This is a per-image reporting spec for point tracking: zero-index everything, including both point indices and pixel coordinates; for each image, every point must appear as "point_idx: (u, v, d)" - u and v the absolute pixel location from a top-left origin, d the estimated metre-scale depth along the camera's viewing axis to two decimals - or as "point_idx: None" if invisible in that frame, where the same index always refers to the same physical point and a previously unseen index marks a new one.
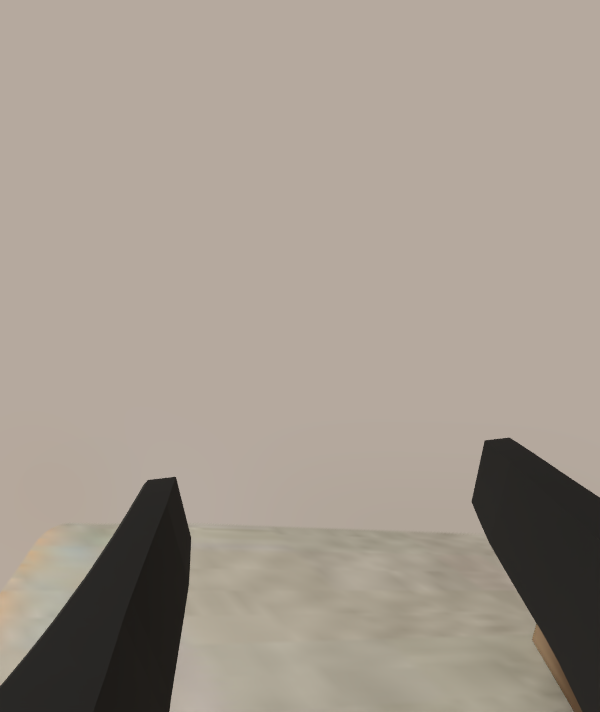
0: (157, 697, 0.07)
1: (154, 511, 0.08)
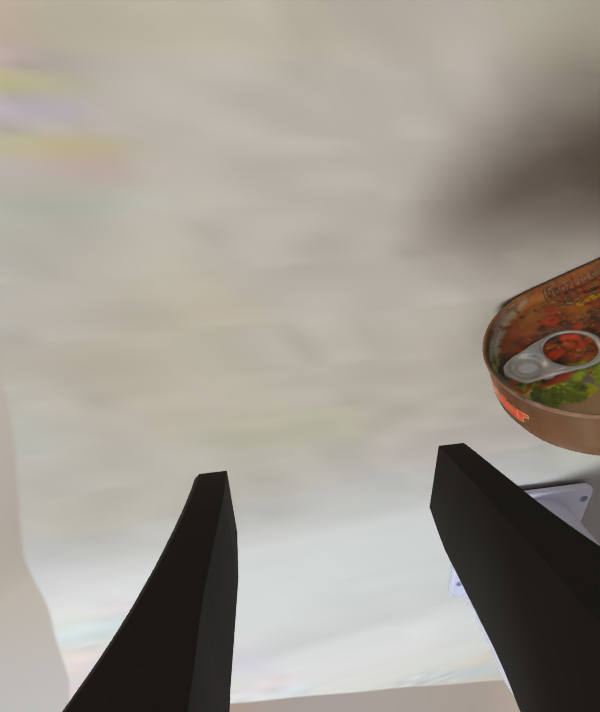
0: (222, 687, 0.08)
1: (212, 504, 0.08)
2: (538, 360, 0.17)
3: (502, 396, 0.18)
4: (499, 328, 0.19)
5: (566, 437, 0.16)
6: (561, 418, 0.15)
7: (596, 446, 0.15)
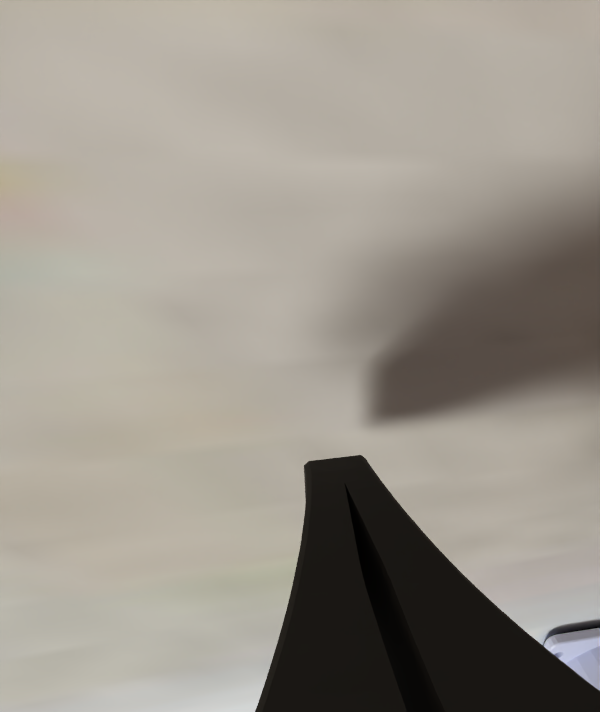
0: None
1: (335, 488, 0.09)
2: None
3: None
4: None
5: None
6: None
7: None
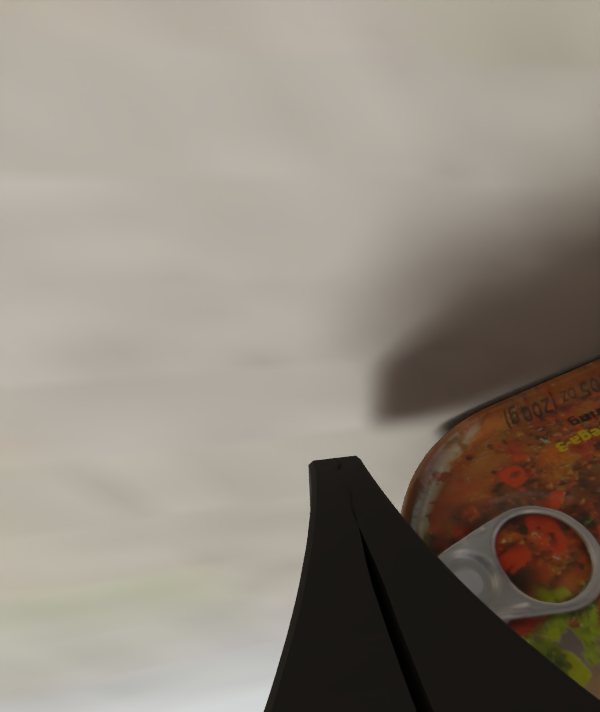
0: None
1: (340, 488, 0.09)
2: (485, 568, 0.10)
3: None
4: (432, 477, 0.12)
5: None
6: None
7: None
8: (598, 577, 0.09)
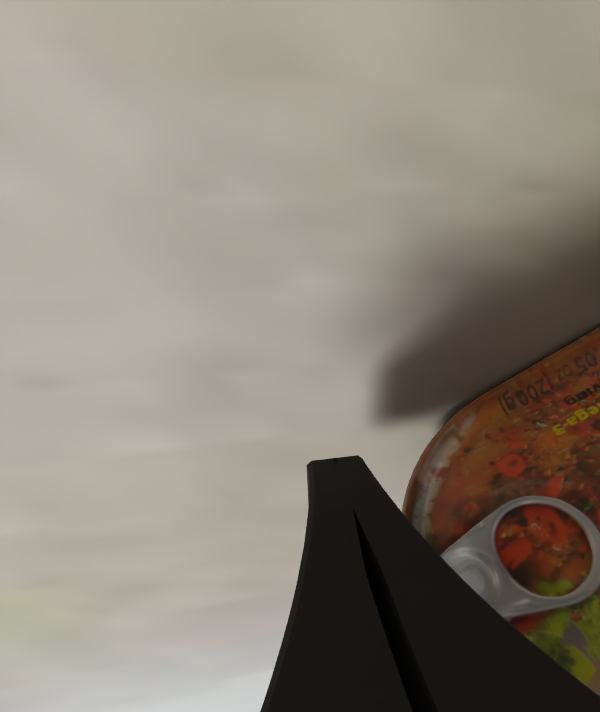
0: None
1: (337, 488, 0.09)
2: (486, 565, 0.10)
3: None
4: (431, 474, 0.12)
5: None
6: None
7: None
8: (598, 566, 0.08)
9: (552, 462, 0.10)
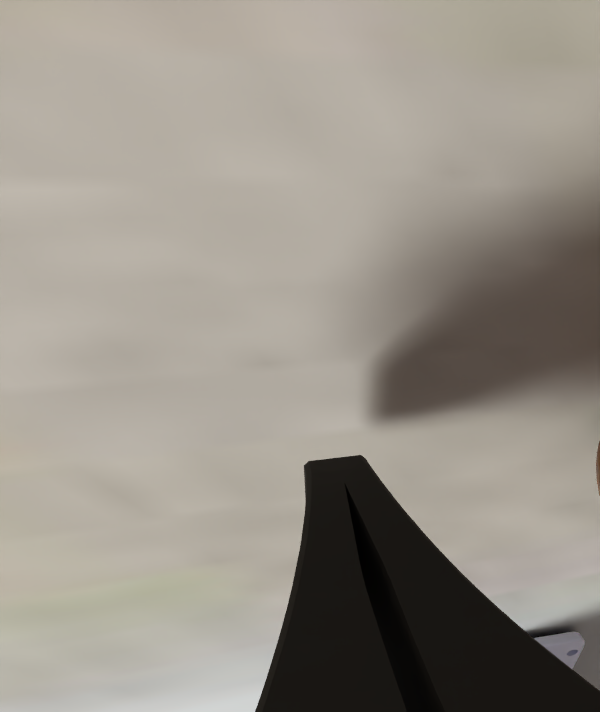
0: None
1: (335, 488, 0.09)
2: None
3: None
4: None
5: None
6: None
7: None
8: None
9: None
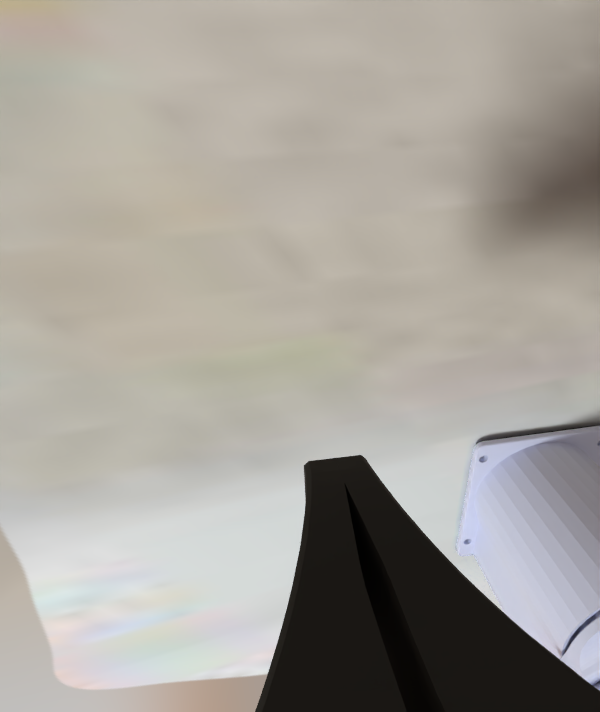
0: None
1: (334, 488, 0.09)
2: None
3: None
4: None
5: None
6: None
7: None
8: None
9: None
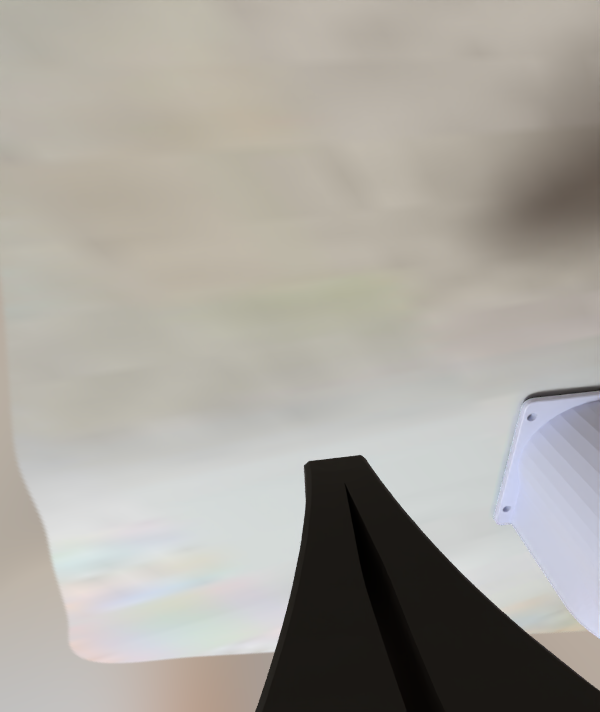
0: None
1: (334, 488, 0.09)
2: None
3: None
4: None
5: None
6: None
7: None
8: None
9: None
